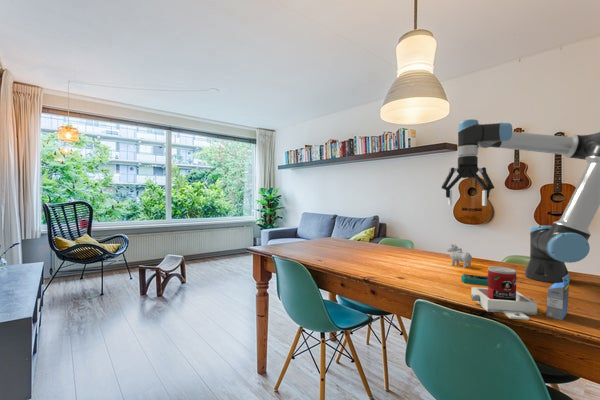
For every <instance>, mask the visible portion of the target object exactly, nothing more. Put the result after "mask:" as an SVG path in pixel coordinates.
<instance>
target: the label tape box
mask: <svg viewBox="0 0 600 400" xmlns="http://www.w3.org/2000/svg"><path fill="white" fill-rule="evenodd" d="M569 276H570V273H569V274H568V275H566V276H565V277H564V278H562V279H563V282H562V283H552V285H551V286H549V288H548V289H547V294H546V295H547V298H546V311H545V312H546V314H545V315H546V316H545V317H548V318H551V319H553V320H554V319H555V320H559V321H563V320H564V318H565V317H566V316H567V314H568V309H569V308H568V307H569V295H570V294H569V293H570V292H569V291H570V282H569ZM566 279H567V282H566Z"/></svg>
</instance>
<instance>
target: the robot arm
mask: <svg viewBox="0 0 600 400" xmlns="http://www.w3.org/2000/svg"><path fill="white" fill-rule="evenodd" d="M457 131H458V132H457V156H458V158H457V167H456V168H455V167H450V168H449V170H448V171H449V172H448V175H447V176H446V178H445V180H444V182H443V183H442V185H441V189H442V190H445V197H446V198H447V199H448V201H447V206H453V190H452V188H453V187H454V186H455V185H456V183H458V181H460V179H474V180H475V181H476V183H478V184H479V186H480V187H481V189H483V190H482V191H481V206H483V207H487V200H488V199H489V197H490V190H493V189H494V190H495V186H494V184H493V181H492V180H491V178H490V176H489V175H488V173H487V168H486V167H479V166H478V163H479V147H480V148H483V149H487V148H496V149H497V148H498V149H505V150H506V149H507V150H517V151H525V152H536V153H544V154H556V155H564V156H565V157H566V158H569V159H577V160H578V159H579V160H585V161H586V162H587V166H586V167H585V169H584V172H583V173H582V175H581V177H580V179H579V181H578V183H577V185H576V187H575V189H574V191H573V192H572V195H571V197H570V199H569V201H568V203H567V205H566V207H565V209H564V211H563V213H562V215H561V216H560V218H559V220H557V221H553V222H552V224H551V225H533V226H532V227H530V232H529V234H530V235H529V236H530V237H529V243H530V244H529V245H530V247H529V261H528V263H527V265H526V268H525V269H524V276H525V277H527V278H528V279H531V280H536V281H539V282H545V283H552V284H554V283H562V282H563V279H562V278H564V277H565V276H566V275H568V274H569V283H570V282H571V276H570V273H569V271H568V269H567V266H566V263H567V264H568V263H569V264H571V263H577V262H580V261H582V260H584V259H585V258H586V257H587V256H588V255H589V253H590V249H591V248H590V247H591V246H590V244H589V239H590V237H591V235H592V234H591V232H590V230H589V227H590V226H591V223H592V221H593V220H594V218H595V216H596V214H597V212H598V211H599V208H600V131H598V132H596V133H591V134H584V135H583V134H572V135H571V136H564V135H563V136H562V135H554V134H553V135H550V134H541V133H539V134H538V133H529V132H519V131H517V132H516V131H513V125H512V123H510V122H499V123H497V122H496V123H485V124H482V123H479V120H477V119H475V118H474V119H464V120H461V121H460V122H459V123H458V129H457ZM478 172H479V173H480V174H481V176H482V178H483V179H481V177H480V176H479V174H478ZM455 173H458V174H457V175H456V177H455V178H454V179H453V180H451V179H452V178H453V175H454V174H455ZM450 181H451V182H450ZM566 282H567V279H566Z"/></svg>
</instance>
